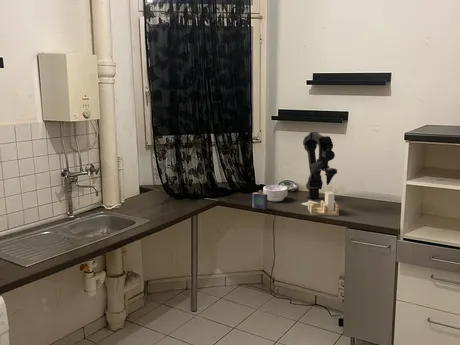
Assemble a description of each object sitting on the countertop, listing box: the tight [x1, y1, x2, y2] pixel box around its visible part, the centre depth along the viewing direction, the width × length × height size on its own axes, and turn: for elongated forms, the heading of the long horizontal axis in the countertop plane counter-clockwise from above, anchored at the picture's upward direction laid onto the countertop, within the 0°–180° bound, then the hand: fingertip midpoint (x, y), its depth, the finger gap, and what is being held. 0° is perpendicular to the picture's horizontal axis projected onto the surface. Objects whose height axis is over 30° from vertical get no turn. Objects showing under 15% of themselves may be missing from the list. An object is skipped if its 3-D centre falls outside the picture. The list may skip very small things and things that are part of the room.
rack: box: [307, 199, 340, 217], centre depth 269 cm, size 14×15×5 cm
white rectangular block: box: [324, 191, 335, 211], centre depth 268 cm, size 4×6×10 cm, turn 6°
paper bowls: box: [262, 184, 289, 202], centre depth 295 cm, size 15×15×8 cm
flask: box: [252, 189, 268, 210], centre depth 276 cm, size 9×3×11 cm, turn 65°
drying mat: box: [301, 200, 318, 207], centre depth 283 cm, size 12×9×1 cm
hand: (322, 183), depth 282 cm, fingers open, 9 cm apart
